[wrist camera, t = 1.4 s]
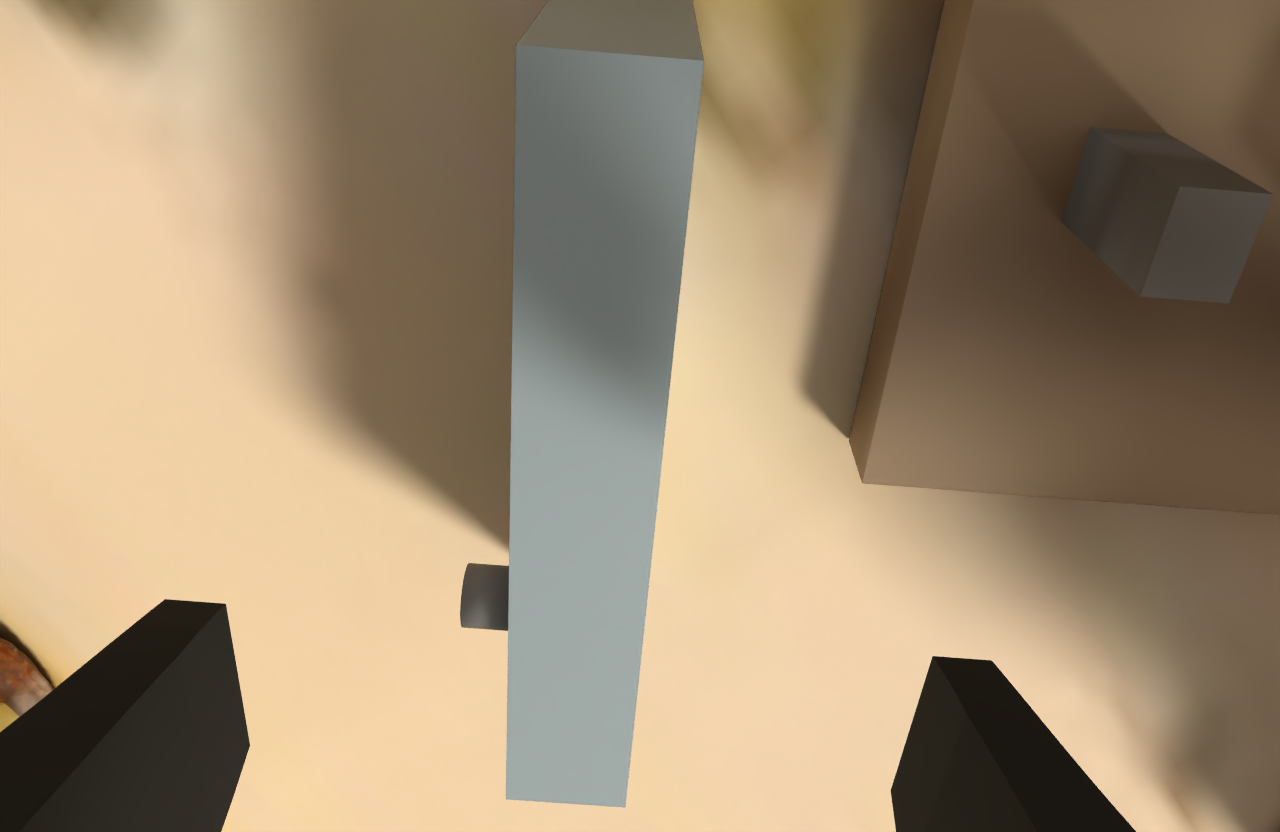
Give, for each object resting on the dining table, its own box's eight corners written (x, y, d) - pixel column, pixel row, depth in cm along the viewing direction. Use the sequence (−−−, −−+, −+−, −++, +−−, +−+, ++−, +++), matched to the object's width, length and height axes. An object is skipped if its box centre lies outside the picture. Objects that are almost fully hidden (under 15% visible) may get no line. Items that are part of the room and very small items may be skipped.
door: (634, 577, 22) (625, 807, 16) (507, 568, 22) (457, 795, 16) (690, -11, 16) (703, 61, 10) (513, -26, 16) (440, 38, 10)
